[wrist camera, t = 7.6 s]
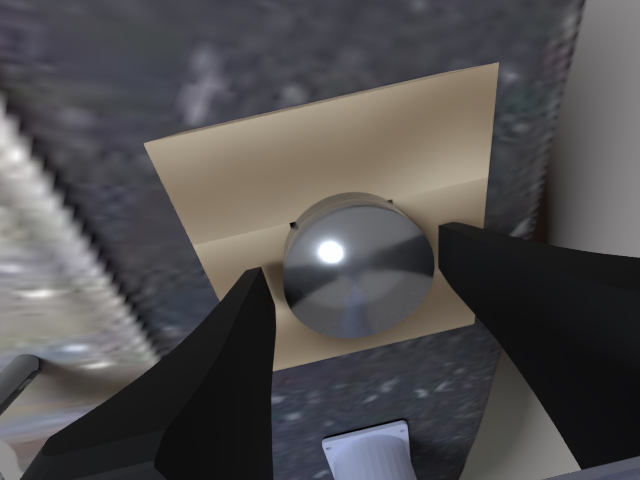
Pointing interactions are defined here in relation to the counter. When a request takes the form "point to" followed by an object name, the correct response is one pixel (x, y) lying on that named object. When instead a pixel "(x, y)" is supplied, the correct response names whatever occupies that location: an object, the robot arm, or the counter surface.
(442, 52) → the counter surface
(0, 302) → the counter surface
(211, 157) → the block
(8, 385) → the mechanical component
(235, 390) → the robot arm
